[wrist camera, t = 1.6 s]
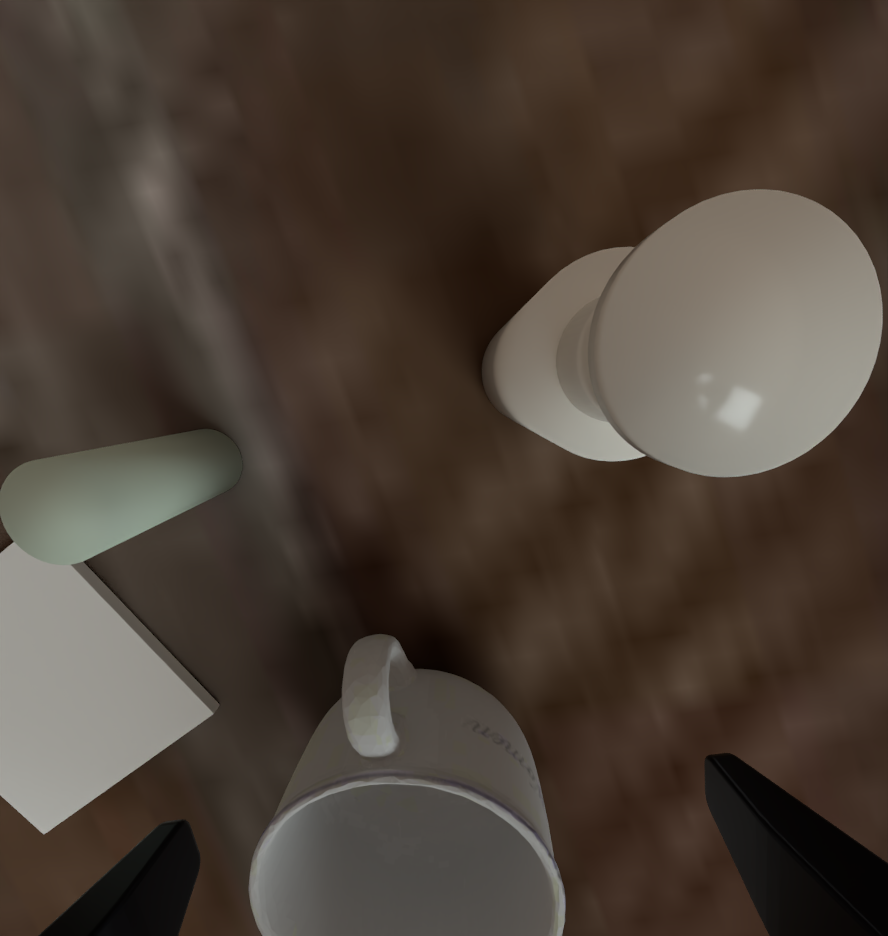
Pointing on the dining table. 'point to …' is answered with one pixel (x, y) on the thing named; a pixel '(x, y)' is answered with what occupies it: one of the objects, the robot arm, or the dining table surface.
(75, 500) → the post
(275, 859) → the teacup
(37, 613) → the mat
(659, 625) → the dining table surface
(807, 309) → the vase
